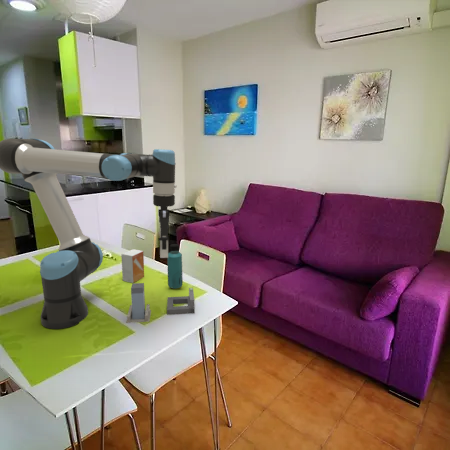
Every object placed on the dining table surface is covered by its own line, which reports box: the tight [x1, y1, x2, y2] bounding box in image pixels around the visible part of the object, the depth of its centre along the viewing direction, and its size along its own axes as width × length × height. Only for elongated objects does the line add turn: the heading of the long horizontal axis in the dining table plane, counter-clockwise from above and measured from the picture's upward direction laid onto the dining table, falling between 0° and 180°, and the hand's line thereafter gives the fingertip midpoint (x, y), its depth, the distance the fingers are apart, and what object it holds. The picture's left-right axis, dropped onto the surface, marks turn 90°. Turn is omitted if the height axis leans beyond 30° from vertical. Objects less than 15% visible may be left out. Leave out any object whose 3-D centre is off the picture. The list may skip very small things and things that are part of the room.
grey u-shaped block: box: [125, 303, 152, 324], centre depth 116 cm, size 8×8×3 cm
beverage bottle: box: [166, 243, 184, 289], centre depth 138 cm, size 6×7×20 cm
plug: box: [130, 282, 146, 319], centre depth 114 cm, size 4×4×12 cm
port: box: [166, 287, 195, 316], centre depth 122 cm, size 10×10×7 cm
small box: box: [120, 248, 145, 284], centre depth 147 cm, size 8×6×13 cm
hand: (163, 251), depth 119 cm, fingers open, 13 cm apart
